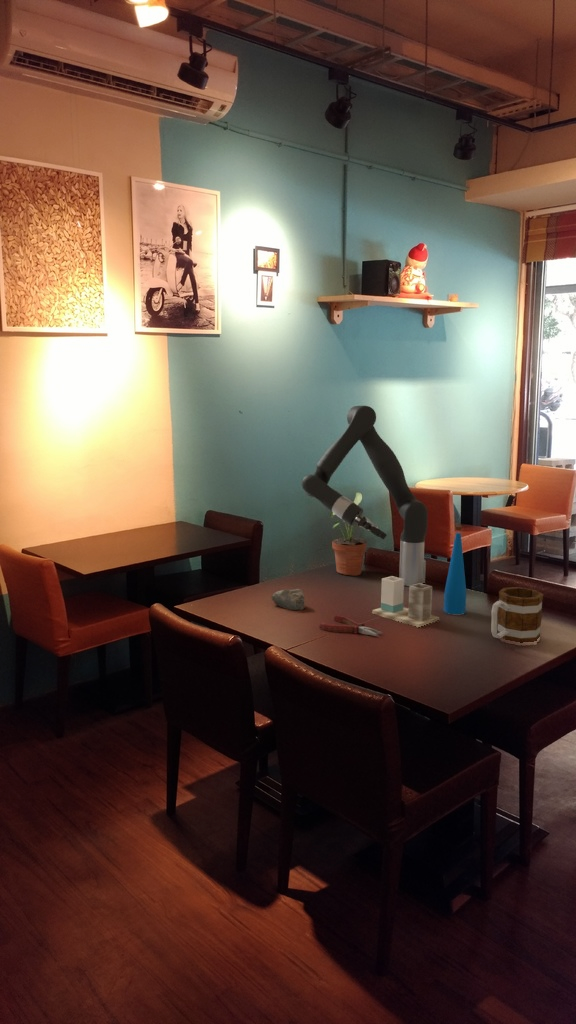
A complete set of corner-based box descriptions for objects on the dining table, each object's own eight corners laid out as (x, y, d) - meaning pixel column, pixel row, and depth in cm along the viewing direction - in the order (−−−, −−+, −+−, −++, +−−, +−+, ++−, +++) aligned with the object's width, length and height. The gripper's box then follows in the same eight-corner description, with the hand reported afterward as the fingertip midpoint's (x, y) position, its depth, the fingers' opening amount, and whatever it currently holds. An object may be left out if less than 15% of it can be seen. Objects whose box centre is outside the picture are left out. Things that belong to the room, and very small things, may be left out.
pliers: (371, 642, 242) (371, 634, 242) (317, 630, 254) (317, 622, 254) (389, 633, 252) (389, 625, 251) (336, 621, 263) (336, 614, 263)
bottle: (454, 616, 267) (459, 529, 262) (439, 610, 273) (443, 525, 268) (469, 613, 271) (474, 527, 266) (454, 607, 277) (459, 523, 272)
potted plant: (340, 565, 334) (342, 484, 328) (372, 571, 325) (374, 488, 319) (321, 573, 322) (322, 489, 315) (353, 579, 313) (355, 493, 306)
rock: (267, 604, 279) (267, 586, 278) (281, 599, 286) (282, 582, 285) (298, 611, 271) (298, 593, 270) (312, 606, 278) (312, 588, 277)
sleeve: (380, 609, 271) (381, 578, 269) (390, 606, 274) (391, 575, 272) (392, 613, 267) (394, 581, 265) (402, 609, 270) (404, 579, 268)
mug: (514, 629, 255) (517, 584, 253) (549, 640, 244) (553, 594, 242) (473, 640, 244) (476, 594, 241) (508, 653, 233) (511, 605, 230)
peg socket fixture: (372, 613, 270) (373, 579, 268) (393, 607, 277) (394, 573, 275) (418, 627, 255) (420, 591, 253) (439, 620, 263) (440, 585, 261)
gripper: (348, 499, 278) (385, 525, 273) (357, 504, 292) (392, 529, 286) (336, 516, 279) (372, 542, 273) (346, 521, 292) (380, 546, 287)
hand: (382, 536), depth 280 cm, fingers open, 8 cm apart
